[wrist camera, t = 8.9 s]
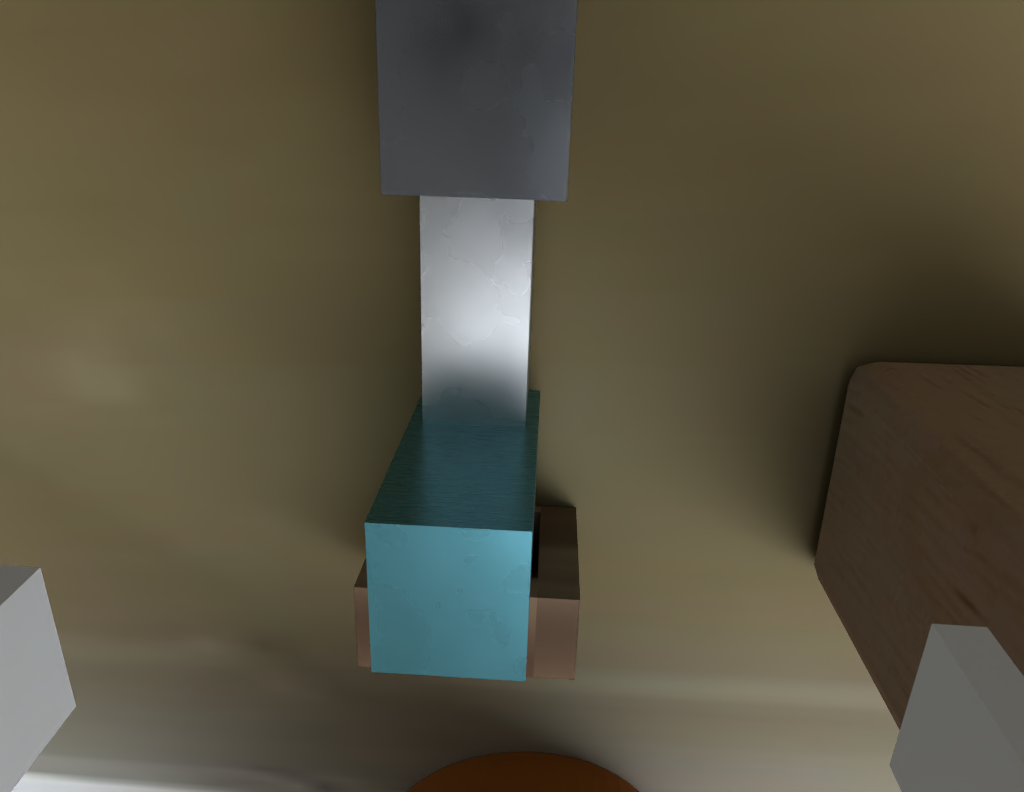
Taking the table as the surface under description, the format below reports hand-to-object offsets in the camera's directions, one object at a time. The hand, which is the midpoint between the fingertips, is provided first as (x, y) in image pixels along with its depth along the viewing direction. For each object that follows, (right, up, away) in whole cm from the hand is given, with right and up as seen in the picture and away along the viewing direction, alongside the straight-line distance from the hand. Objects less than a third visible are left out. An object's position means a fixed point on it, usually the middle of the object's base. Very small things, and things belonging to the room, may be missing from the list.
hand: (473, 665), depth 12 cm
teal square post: (-1, +5, +18) cm, 19 cm away
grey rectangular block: (0, +17, +15) cm, 23 cm away
